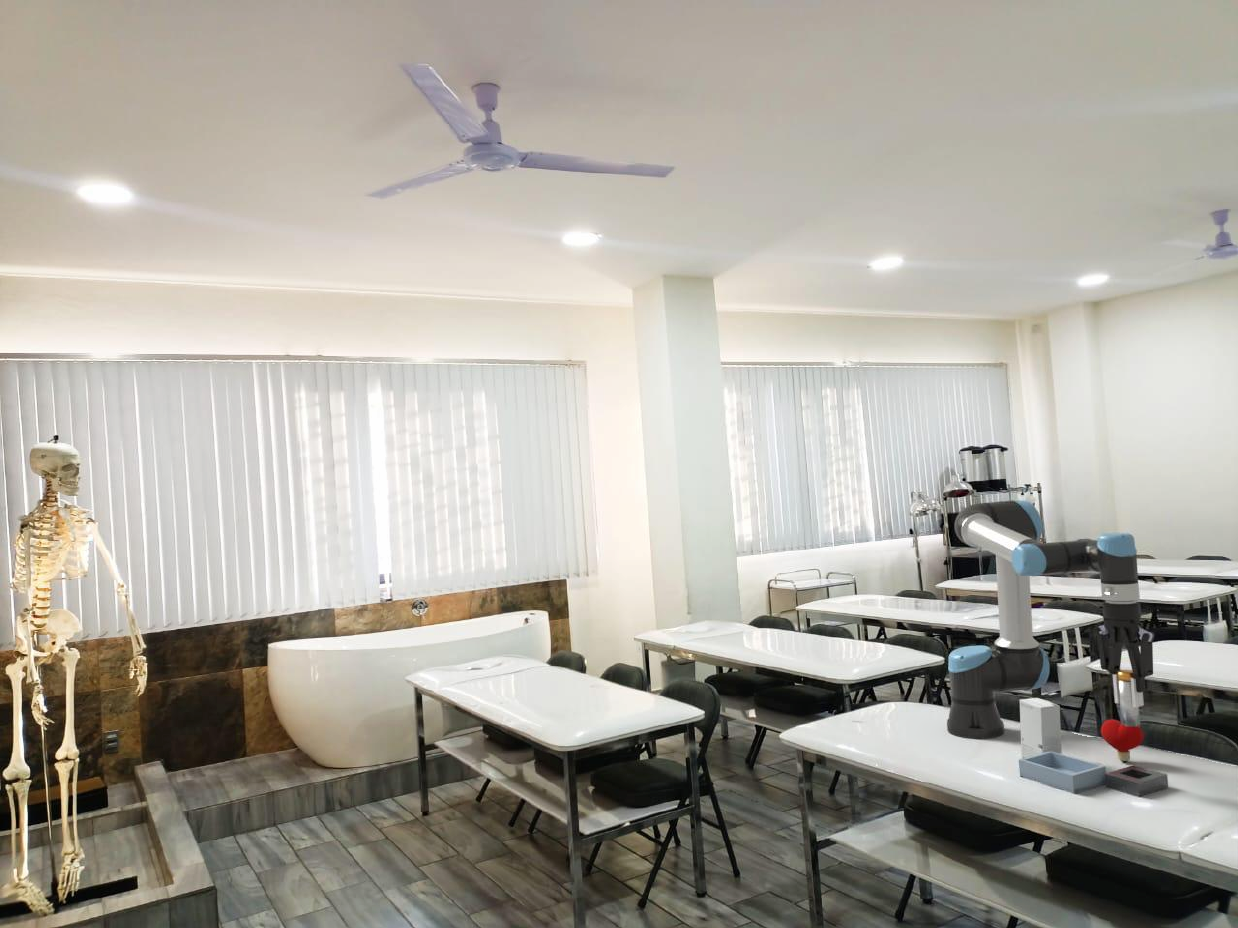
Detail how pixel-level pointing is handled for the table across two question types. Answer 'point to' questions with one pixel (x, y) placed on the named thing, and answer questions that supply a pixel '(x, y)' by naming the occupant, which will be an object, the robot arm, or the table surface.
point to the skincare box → (1039, 727)
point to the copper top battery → (1127, 699)
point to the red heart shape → (1121, 737)
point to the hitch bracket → (1136, 780)
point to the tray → (1062, 771)
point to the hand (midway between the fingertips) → (1129, 703)
